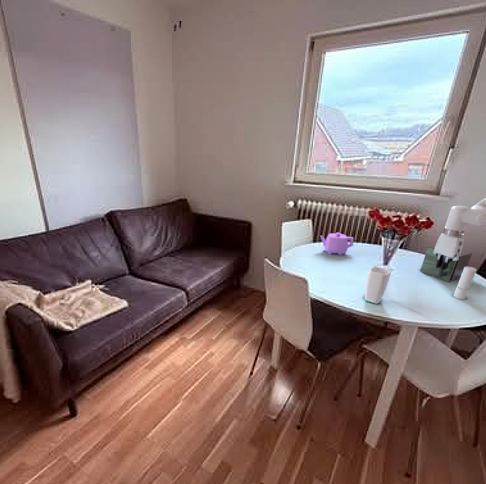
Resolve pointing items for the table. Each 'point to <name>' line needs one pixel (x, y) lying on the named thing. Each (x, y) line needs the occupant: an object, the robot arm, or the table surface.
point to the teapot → (337, 243)
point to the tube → (465, 282)
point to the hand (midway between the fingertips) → (441, 268)
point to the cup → (376, 284)
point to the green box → (430, 266)
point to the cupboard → (459, 264)
